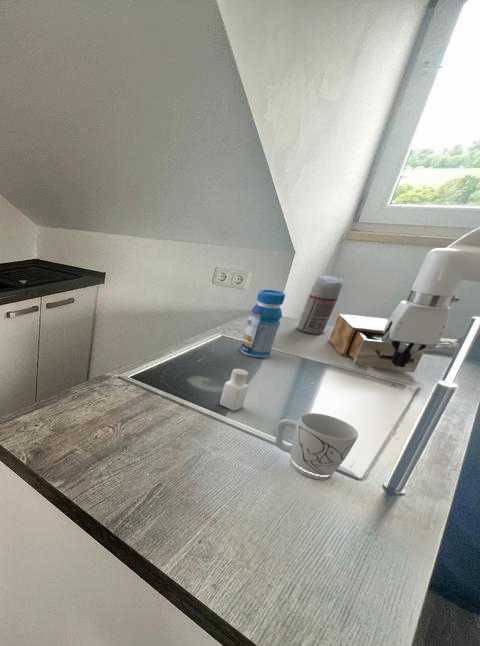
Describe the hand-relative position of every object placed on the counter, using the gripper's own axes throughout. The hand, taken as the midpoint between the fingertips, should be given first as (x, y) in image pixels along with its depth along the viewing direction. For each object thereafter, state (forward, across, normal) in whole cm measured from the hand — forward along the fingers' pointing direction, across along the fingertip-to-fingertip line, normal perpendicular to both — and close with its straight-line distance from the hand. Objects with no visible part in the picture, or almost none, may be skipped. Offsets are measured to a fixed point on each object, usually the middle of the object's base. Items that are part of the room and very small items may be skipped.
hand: (397, 364), depth 105 cm
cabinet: (+5, 0, -22) cm, 23 cm away
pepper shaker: (+5, +41, +34) cm, 53 cm away
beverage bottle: (+5, +32, -6) cm, 33 cm away
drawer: (+4, 0, -11) cm, 11 cm away
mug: (+5, +30, +53) cm, 61 cm away
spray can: (+5, +11, -38) cm, 40 cm away
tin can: (+3, 0, -13) cm, 13 cm away
